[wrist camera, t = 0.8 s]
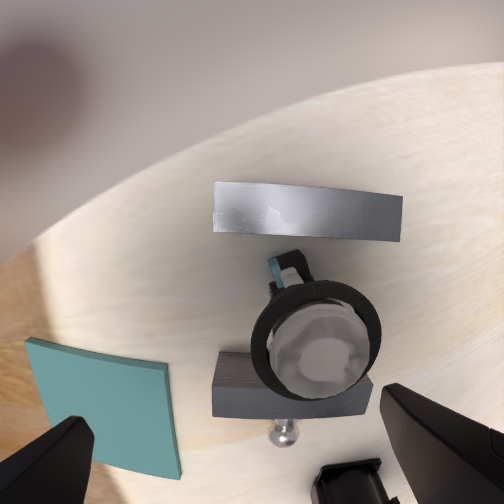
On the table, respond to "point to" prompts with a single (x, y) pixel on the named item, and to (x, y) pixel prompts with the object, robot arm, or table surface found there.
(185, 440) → the table surface
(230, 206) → the grey slab pair
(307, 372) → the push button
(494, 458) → the robot arm
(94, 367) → the teal rubber mat
